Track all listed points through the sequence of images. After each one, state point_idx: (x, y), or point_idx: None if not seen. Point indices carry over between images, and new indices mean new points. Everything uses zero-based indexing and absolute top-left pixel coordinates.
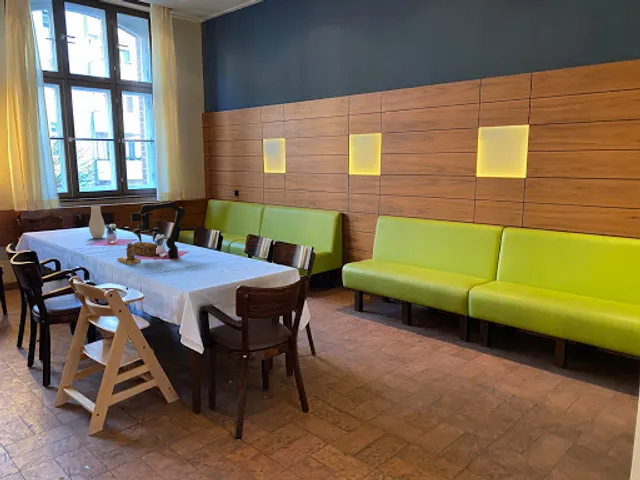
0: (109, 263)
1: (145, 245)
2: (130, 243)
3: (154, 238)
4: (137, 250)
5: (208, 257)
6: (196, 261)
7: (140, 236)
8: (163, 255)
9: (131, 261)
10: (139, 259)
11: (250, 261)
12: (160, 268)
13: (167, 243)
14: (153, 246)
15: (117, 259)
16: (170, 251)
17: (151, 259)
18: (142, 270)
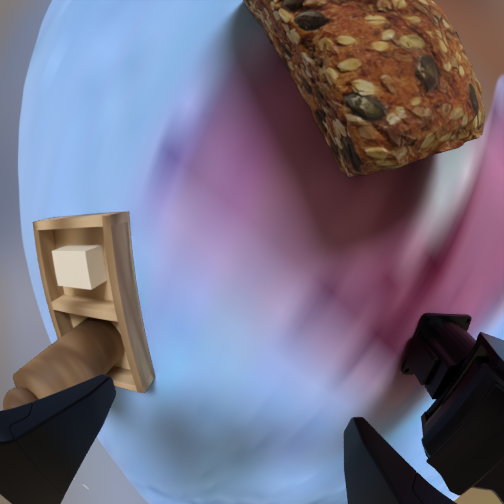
0: (22, 238)
1: (335, 64)
2: None
3: (359, 495)
4: (257, 10)
5: None
6: None
7: (54, 492)
8: (444, 207)
9: None
10: (140, 387)
11: None
12: (212, 486)
13: (431, 459)
14: (427, 153)
15: (40, 220)
16: (429, 392)
17: (278, 311)
18: (141, 465)
